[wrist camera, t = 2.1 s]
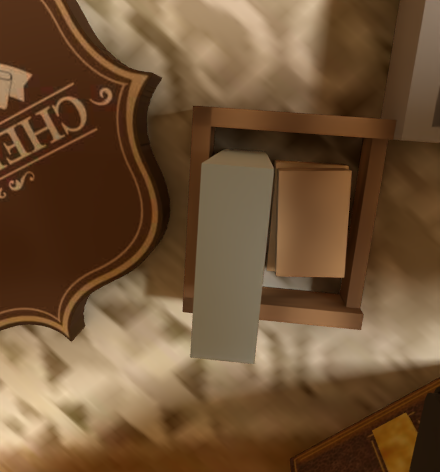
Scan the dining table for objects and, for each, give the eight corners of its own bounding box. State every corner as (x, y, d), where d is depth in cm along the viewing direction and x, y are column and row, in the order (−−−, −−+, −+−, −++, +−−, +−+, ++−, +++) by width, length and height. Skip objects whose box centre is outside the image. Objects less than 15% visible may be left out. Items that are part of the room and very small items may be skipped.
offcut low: (342, 163, 31) (349, 166, 29) (329, 266, 33) (334, 275, 31) (274, 159, 31) (276, 161, 29) (266, 261, 33) (266, 270, 31)
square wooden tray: (380, 120, 29) (396, 120, 26) (350, 309, 33) (360, 329, 30) (200, 108, 30) (193, 105, 27) (189, 293, 34) (182, 312, 30)
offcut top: (344, 167, 29) (351, 170, 27) (338, 267, 31) (344, 277, 28) (277, 167, 29) (279, 171, 27) (274, 265, 31) (276, 276, 29)
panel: (265, 151, 31) (274, 169, 17) (254, 267, 33) (254, 364, 19) (225, 148, 31) (201, 163, 17) (216, 264, 33) (190, 357, 20)
